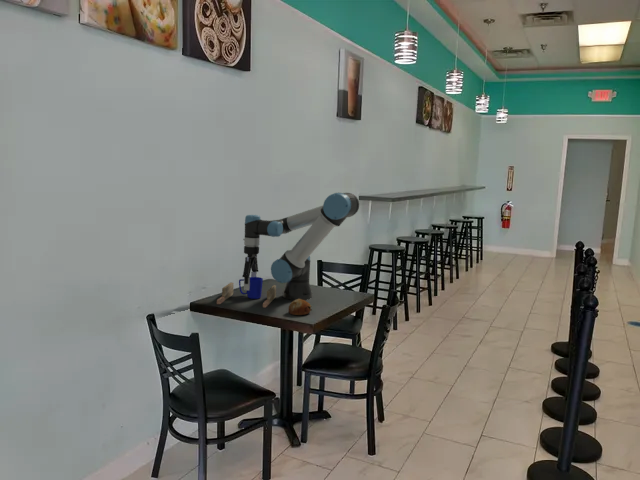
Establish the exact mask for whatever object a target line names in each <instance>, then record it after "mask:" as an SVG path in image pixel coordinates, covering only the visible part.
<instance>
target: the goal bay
mask: <svg viewBox="0 0 640 480" xmlns="http://www.w3.org/2000/svg"><path fill="white" fill-rule="evenodd" d="M224 302H225V300H224V297H222V296H220V297H219V298H217V299H216V305H221V304H222V303H224ZM269 305H270V303H269V300H267V299H266V300H264V302H263V303H262V308H268V306H269Z"/></svg>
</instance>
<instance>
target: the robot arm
mask: <svg viewBox="0 0 640 480" xmlns="http://www.w3.org/2000/svg"><path fill="white" fill-rule="evenodd" d="M359 209H360V201H359V199H358V197H357V196H356V195H355V194H353V193H351V192H334V193H332V194H330V195H328V196H327V197H326V198H325V199H324V201H323V204H322V205H320V206H317V207H314V208H312V209H308V210H305V211H302V212H299V213H296V214H292V215H289V216H287V217H284V218H280V219H273V220H264V219H261V216H260V215H258V214H247V215H246V216H245V219H244V238H243V240H242V241H244V242H243V243H244V246H243V254H245V255H247V256H245V258H244V267H243V272H242V273H243V274H242V278H243V279H244V281H243V291H247V290H249V289H250V277H258V274H257V273H258V272H259V266H258V264H259V263H258V255H259V253H260V236H265V237H266V236H267V237H273V238H275V237H276V238H279V237H280V236H281V235H283V234H284V235H286V234H289V233H290V232H293V231H296V230H301V229H303V228H307V227H309V226H310V227H309V228H308V229H307V231H305V233H304V234H303V235H302V236H301V237H300V239H298V241H297V242H296V244H295V245H294V246H292V248H291V249H288V250H286V251H285V252H284V253H283V254H282V255H281V256H280V258H278V259H276V260H274V261H273V262H272V263H271V266H270V273H271V276H272V278H273V279H274V280H275V281H276V282H278V283H281V284H284V283H285V285H284V289H283V292H282V297H283V299H286V300H289V301H290V300H291V301H294V300H296V299H302V300H305V301H307V299H308V300H310V298H311V299H312V298H313V292H312V288H311V284H310V277H311V276H310V275H311V273H310V272H311V271H310V270H311V255H312V254H313V253H314V251H315V250H316V249H317V247H319V245H320V244H322V242H323V241H324V239H325V238H326V237H327V236H328V235H329V234H330V232H332V231H333V230H334V228H336V227H340V226H341V225H342V224H343V223H344V222H345V220H347V218H350V217H353V216H355V215H356V214H357V213H358V211H359Z"/></svg>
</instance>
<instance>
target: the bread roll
mask: <svg viewBox="0 0 640 480" xmlns="http://www.w3.org/2000/svg"><path fill="white" fill-rule="evenodd" d="M312 311H313V309H312V305H311V303H309V302H308V301H307V300H302V299H296V300H292V301H291V302H290V303H289V306H288V313H289V314H290V315H291V316H303V315H309V313H311V312H312Z"/></svg>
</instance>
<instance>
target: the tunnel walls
mask: <svg viewBox="0 0 640 480" xmlns="http://www.w3.org/2000/svg"><path fill="white" fill-rule="evenodd" d="M233 295H234V282H229V283H228V284H226V285H225V286H223V287H222V288H221V297H224V301H226V300H228V299H229V298H230V297H232V296H233ZM276 296H277V285H275V284H274V285H272V286H271V287H270V288H269V289H268V290H267V291H266V300H269V304H271V302H273V300H274V299H275V298H276Z"/></svg>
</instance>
